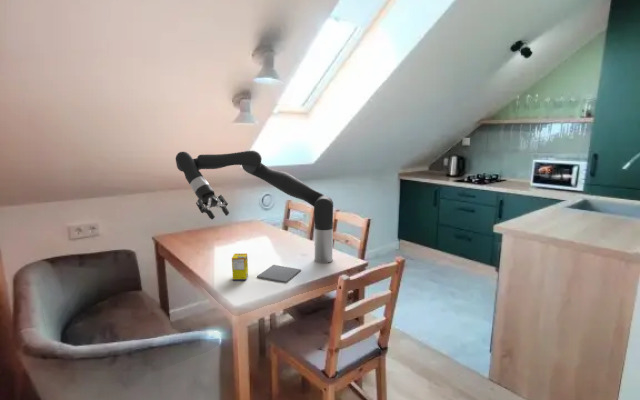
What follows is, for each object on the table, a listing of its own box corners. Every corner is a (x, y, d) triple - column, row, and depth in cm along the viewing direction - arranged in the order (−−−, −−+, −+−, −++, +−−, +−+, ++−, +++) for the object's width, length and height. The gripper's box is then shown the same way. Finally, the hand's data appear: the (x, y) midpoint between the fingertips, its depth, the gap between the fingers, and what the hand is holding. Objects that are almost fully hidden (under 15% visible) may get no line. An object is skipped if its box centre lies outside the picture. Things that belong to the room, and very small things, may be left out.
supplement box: (248, 275, 170) (247, 253, 168) (246, 281, 164) (245, 257, 162) (235, 275, 170) (234, 253, 168) (232, 281, 164) (231, 257, 162)
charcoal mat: (273, 266, 181) (273, 264, 181) (301, 270, 176) (301, 269, 176) (257, 277, 168) (257, 276, 168) (286, 283, 162) (286, 281, 162)
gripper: (210, 191, 178) (228, 218, 174) (185, 196, 166) (204, 224, 162) (217, 181, 174) (236, 208, 170) (192, 185, 162) (212, 214, 158)
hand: (220, 216), depth 166 cm, fingers open, 8 cm apart
